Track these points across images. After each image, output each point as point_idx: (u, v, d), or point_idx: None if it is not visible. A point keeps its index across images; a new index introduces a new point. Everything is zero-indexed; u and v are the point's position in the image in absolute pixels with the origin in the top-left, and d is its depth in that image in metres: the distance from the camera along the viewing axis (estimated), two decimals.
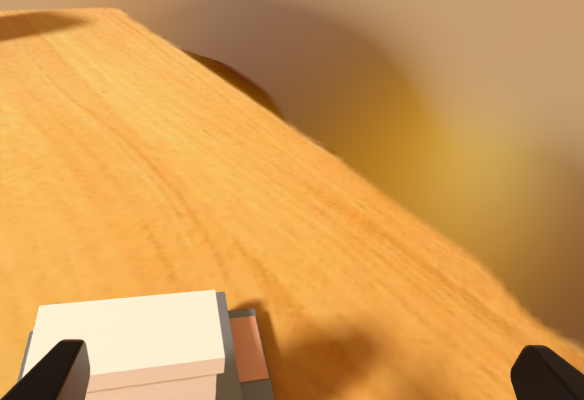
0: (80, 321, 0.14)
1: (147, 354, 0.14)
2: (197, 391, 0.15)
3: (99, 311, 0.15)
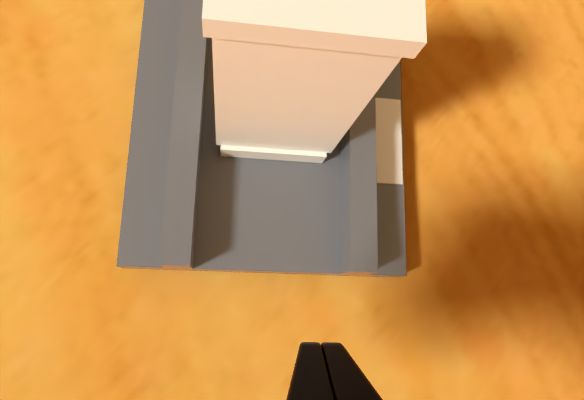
0: None
1: (339, 16, 0.11)
2: (372, 70, 0.13)
3: None
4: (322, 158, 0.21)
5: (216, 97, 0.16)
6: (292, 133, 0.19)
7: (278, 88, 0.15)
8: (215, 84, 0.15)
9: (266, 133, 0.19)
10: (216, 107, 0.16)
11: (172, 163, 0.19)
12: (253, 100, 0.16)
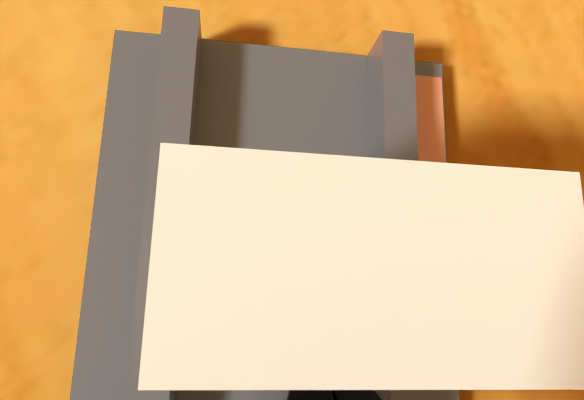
0: (265, 214, 0.06)
1: (430, 349, 0.05)
2: None
3: (309, 190, 0.06)
4: None
5: None
6: None
7: None
8: None
9: None
10: None
11: (135, 369, 0.13)
12: None
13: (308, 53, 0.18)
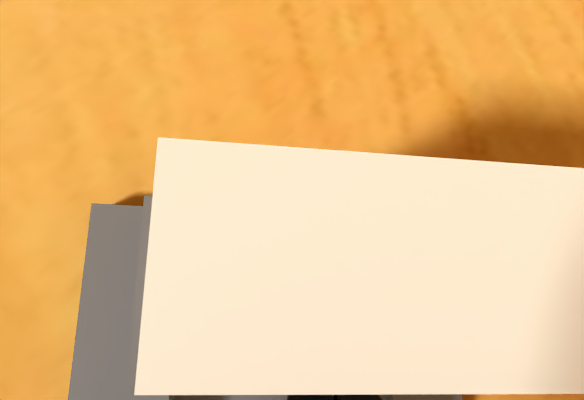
0: (267, 212, 0.05)
1: (437, 352, 0.05)
2: None
3: (312, 187, 0.05)
4: None
5: None
6: None
7: None
8: None
9: None
10: None
11: None
12: None
13: None
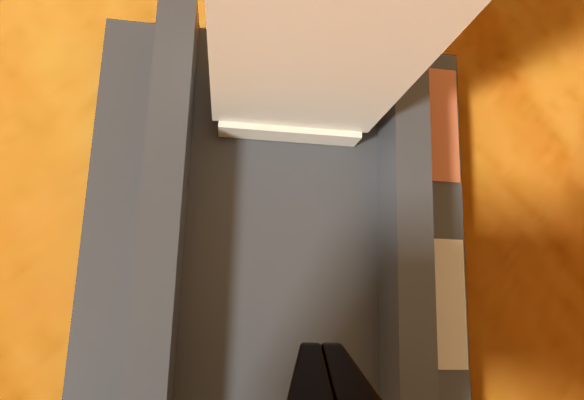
0: None
1: None
2: None
3: None
4: (355, 140, 0.16)
5: (210, 40, 0.10)
6: (319, 103, 0.13)
7: (310, 21, 0.09)
8: (208, 14, 0.09)
9: (283, 103, 0.13)
10: (211, 59, 0.11)
11: (128, 387, 0.12)
12: (267, 46, 0.10)
13: None
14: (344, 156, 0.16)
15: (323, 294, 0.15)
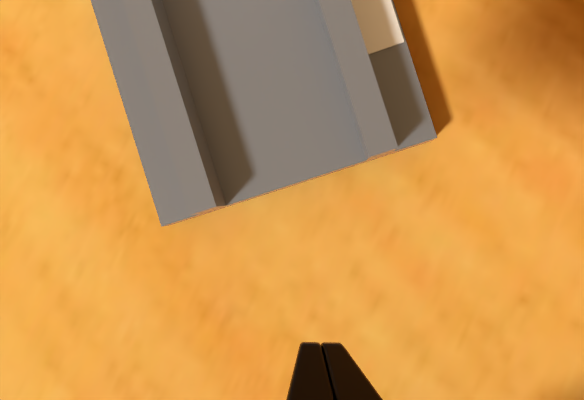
0: None
1: None
2: None
3: None
4: None
5: None
6: None
7: None
8: None
9: None
10: None
11: (163, 118, 0.19)
12: None
13: None
14: None
15: (278, 29, 0.21)
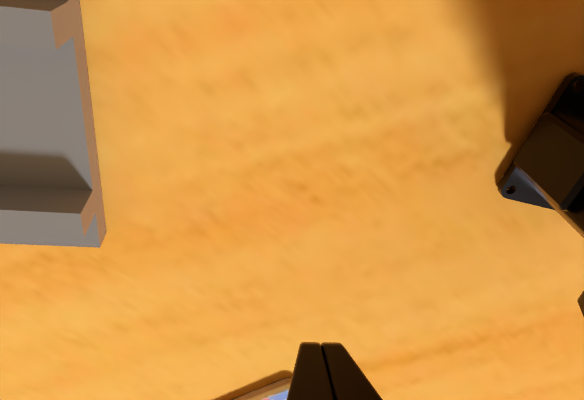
0: None
1: None
2: None
3: None
4: None
5: None
6: None
7: None
8: None
9: None
10: None
11: None
12: None
13: None
14: None
15: None
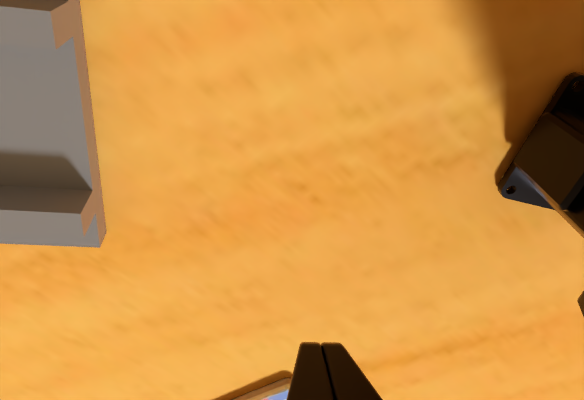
0: None
1: None
2: None
3: None
4: None
5: None
6: None
7: None
8: None
9: None
10: None
11: None
12: None
13: None
14: None
15: None
